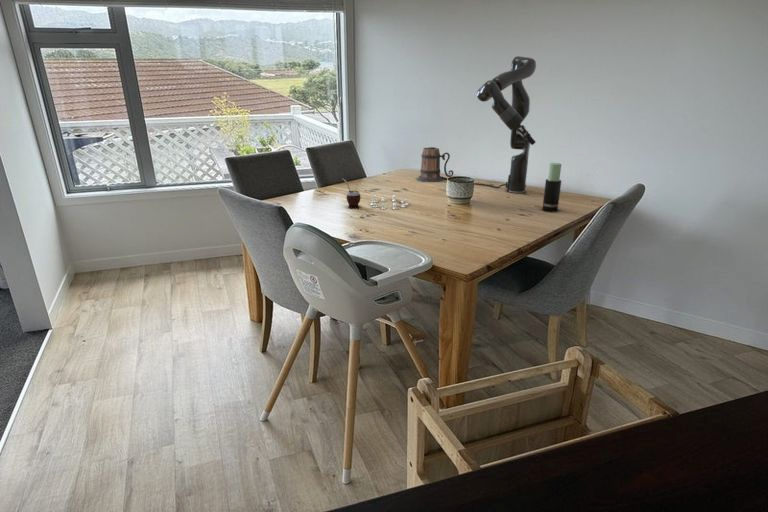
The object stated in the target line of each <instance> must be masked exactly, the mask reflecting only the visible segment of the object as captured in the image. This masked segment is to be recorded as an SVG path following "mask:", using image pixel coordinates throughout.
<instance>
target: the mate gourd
mask: <svg viewBox="0 0 768 512" xmlns="http://www.w3.org/2000/svg"><path fill="white" fill-rule="evenodd" d="M341 180H343V181H344V182H345V183H346V186H347V188H348V192H347V193H346V202H347V204H348V209H359V204H360V202H361V193H360V192H359V190H351V188H350V185H349V182H348V181H347V180H346V179H344V178H343V177H342V178H341Z"/></svg>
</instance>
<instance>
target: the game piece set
mask: <svg viewBox="0 0 768 512" xmlns="http://www.w3.org/2000/svg"><path fill="white" fill-rule="evenodd" d="M396 197H397V195H396V194H394V193H393V195H392V200H391V201H392V202H394V203H392V205H393V207H392V209H393V210H398V207H397V203H396V202H397V199H396ZM380 201H381V202H386V199H384V194H382V197H381V200H380ZM370 202H371V203H369V206H372V208H378V205H377V203H378V202H379V201H378V199H377V195H376V194H375V195H374V199H373V198H371V201H370ZM400 203H402V205H401V206H400V208H407V206H409V205H410V204H409V199H408V198H405V199H403V200H401V201H400ZM381 210H386V205H385V204H384V203H382V205H381Z"/></svg>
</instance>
